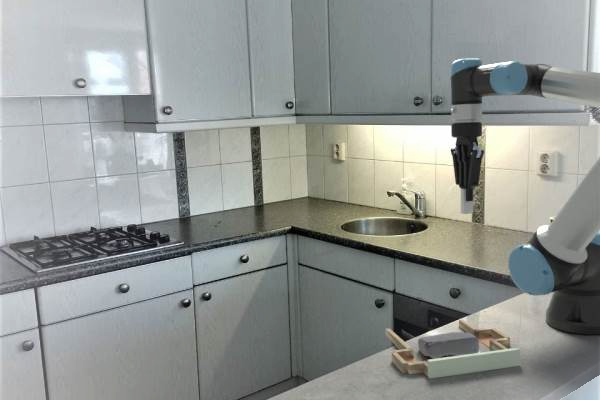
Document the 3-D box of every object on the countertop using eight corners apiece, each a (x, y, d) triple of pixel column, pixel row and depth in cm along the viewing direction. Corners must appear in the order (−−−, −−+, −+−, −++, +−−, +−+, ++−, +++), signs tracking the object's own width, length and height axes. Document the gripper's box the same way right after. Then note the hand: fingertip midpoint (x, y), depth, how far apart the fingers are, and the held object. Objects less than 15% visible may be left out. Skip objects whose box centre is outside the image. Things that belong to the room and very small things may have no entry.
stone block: (464, 323, 132) (482, 338, 122) (464, 343, 133) (482, 360, 123) (413, 326, 131) (426, 342, 121) (413, 347, 132) (426, 364, 122)
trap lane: (477, 325, 144) (477, 311, 143) (537, 363, 120) (537, 347, 120) (369, 338, 138) (369, 324, 137) (411, 381, 114) (410, 364, 114)
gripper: (441, 122, 154) (442, 210, 157) (465, 121, 141) (466, 218, 144) (467, 121, 155) (467, 209, 158) (493, 120, 143) (493, 215, 146)
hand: (466, 213), depth 151 cm, fingers closed
